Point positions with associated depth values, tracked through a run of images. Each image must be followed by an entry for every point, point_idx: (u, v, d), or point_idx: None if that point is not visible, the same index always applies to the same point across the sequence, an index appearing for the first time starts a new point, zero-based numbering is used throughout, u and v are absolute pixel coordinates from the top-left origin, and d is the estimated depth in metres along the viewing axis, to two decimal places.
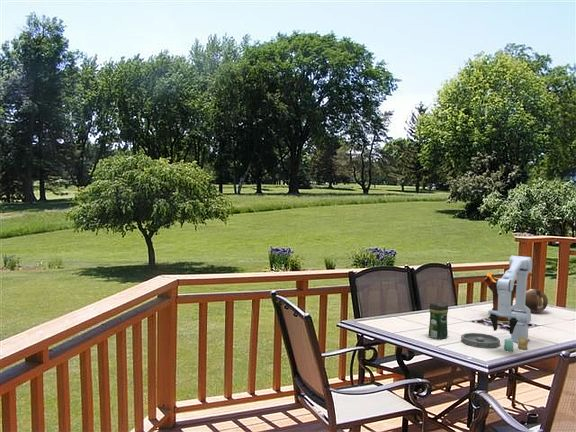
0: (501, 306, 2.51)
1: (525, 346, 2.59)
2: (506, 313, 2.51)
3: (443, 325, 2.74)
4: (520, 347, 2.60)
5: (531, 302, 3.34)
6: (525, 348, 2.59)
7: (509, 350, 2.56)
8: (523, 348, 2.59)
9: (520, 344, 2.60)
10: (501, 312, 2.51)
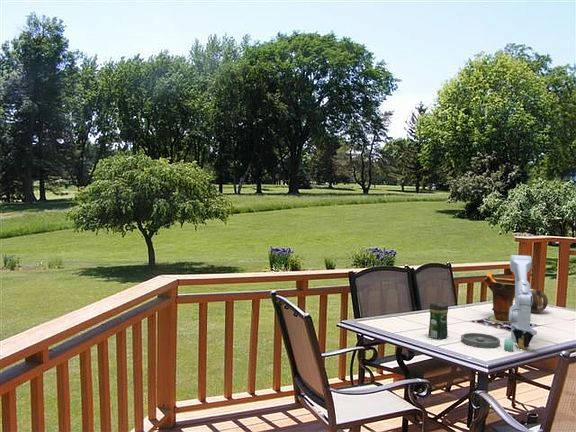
0: (519, 320, 2.59)
1: None
2: (523, 327, 2.58)
3: (443, 325, 2.74)
4: (520, 347, 2.60)
5: None
6: (525, 348, 2.59)
7: (509, 350, 2.56)
8: (523, 348, 2.59)
9: (520, 344, 2.60)
10: (519, 326, 2.59)
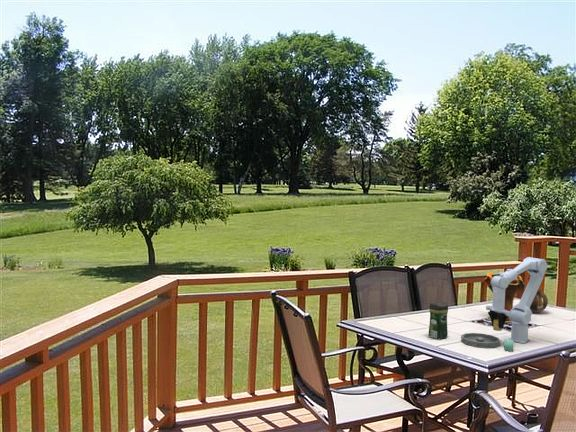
0: (494, 302, 2.67)
1: None
2: (498, 309, 2.65)
3: (443, 325, 2.74)
4: (495, 328, 2.67)
5: None
6: (500, 329, 2.67)
7: (509, 350, 2.56)
8: (498, 329, 2.67)
9: (495, 325, 2.67)
10: (494, 307, 2.67)
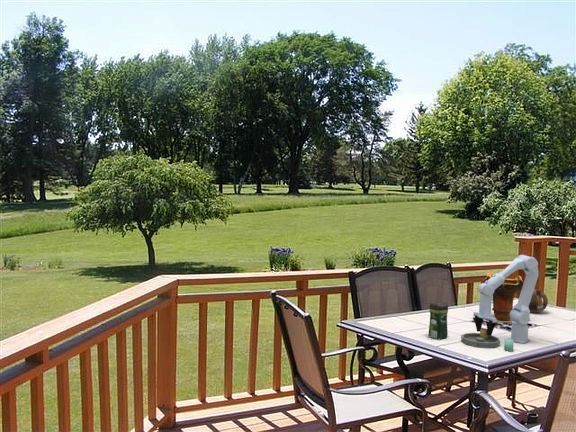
0: (480, 309, 2.71)
1: (486, 336, 2.71)
2: (484, 315, 2.70)
3: (443, 325, 2.74)
4: None
5: (531, 302, 3.34)
6: (486, 338, 2.71)
7: (509, 350, 2.56)
8: None
9: (481, 334, 2.72)
10: (480, 314, 2.72)
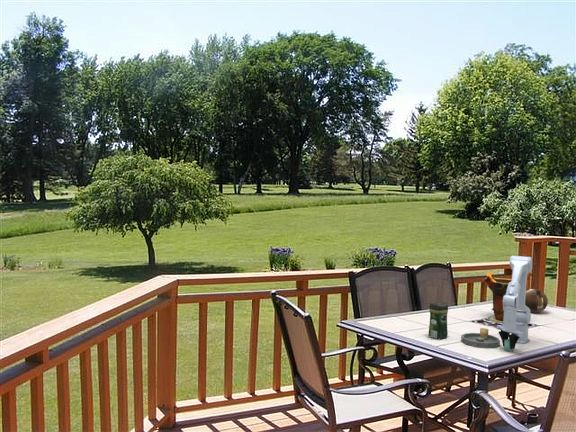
0: (505, 321, 2.56)
1: (486, 336, 2.71)
2: (509, 329, 2.54)
3: (443, 325, 2.74)
4: None
5: (531, 302, 3.34)
6: (486, 338, 2.71)
7: (509, 350, 2.56)
8: None
9: (481, 334, 2.72)
10: (504, 327, 2.56)
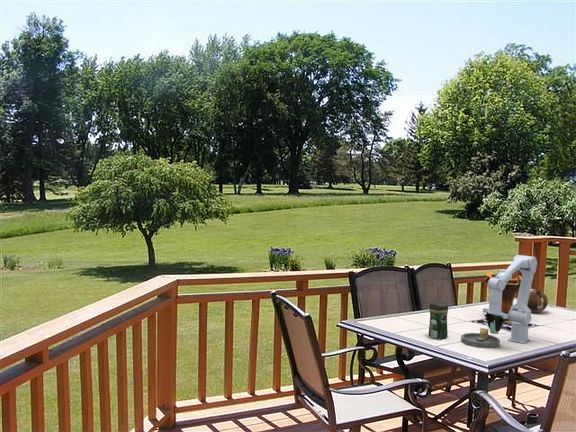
0: (490, 304, 2.61)
1: (486, 336, 2.71)
2: (495, 311, 2.60)
3: (443, 325, 2.74)
4: None
5: (531, 302, 3.34)
6: (486, 338, 2.71)
7: (495, 332, 2.61)
8: None
9: (481, 334, 2.72)
10: (490, 310, 2.61)
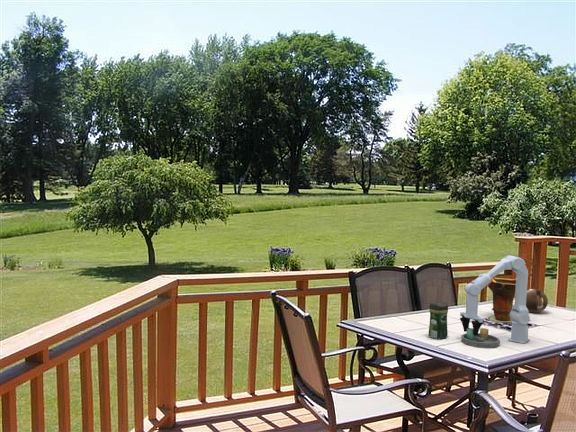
0: (467, 308, 2.71)
1: (486, 336, 2.71)
2: (471, 315, 2.69)
3: (443, 325, 2.74)
4: None
5: (531, 302, 3.34)
6: (486, 338, 2.71)
7: (470, 338, 2.71)
8: None
9: (481, 334, 2.72)
10: (467, 314, 2.71)
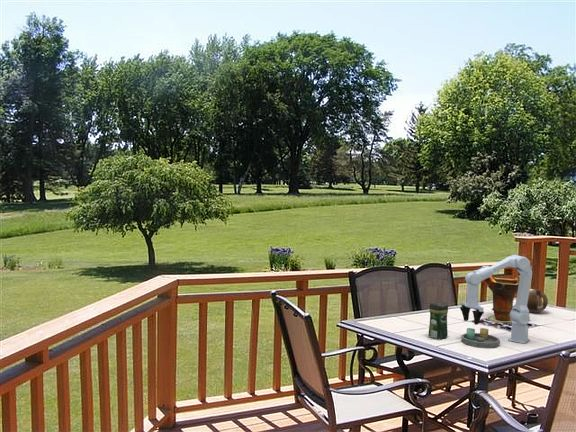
0: (467, 298, 2.71)
1: (486, 336, 2.71)
2: (471, 305, 2.69)
3: (443, 325, 2.74)
4: None
5: (531, 302, 3.34)
6: (486, 338, 2.71)
7: (470, 338, 2.71)
8: None
9: (481, 334, 2.72)
10: (467, 303, 2.71)
